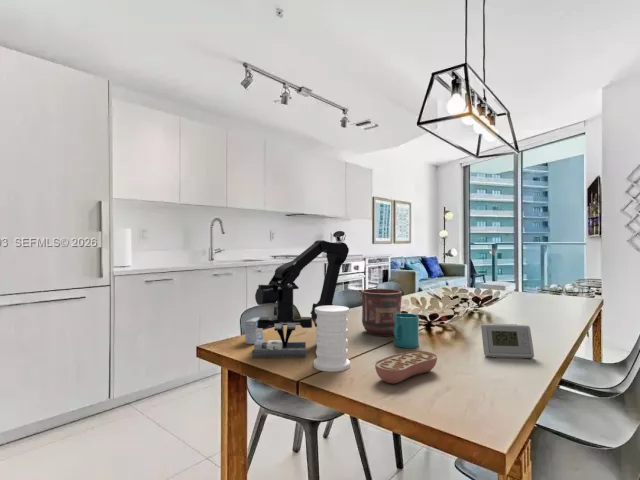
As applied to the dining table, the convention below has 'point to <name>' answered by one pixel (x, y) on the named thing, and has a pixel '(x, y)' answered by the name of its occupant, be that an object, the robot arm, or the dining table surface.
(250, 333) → the medicine box
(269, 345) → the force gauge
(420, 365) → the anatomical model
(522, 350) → the digital thermostat
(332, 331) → the decorative container
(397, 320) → the cup
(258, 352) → the gauge stand
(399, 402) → the dining table surface
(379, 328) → the pottery
